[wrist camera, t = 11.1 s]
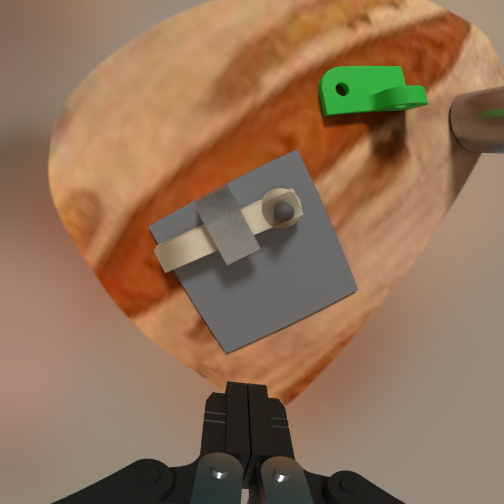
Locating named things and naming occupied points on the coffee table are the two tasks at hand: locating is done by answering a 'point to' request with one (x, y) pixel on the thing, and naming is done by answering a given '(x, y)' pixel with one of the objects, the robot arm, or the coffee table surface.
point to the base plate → (265, 262)
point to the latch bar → (256, 214)
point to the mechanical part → (368, 90)
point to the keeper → (226, 224)
